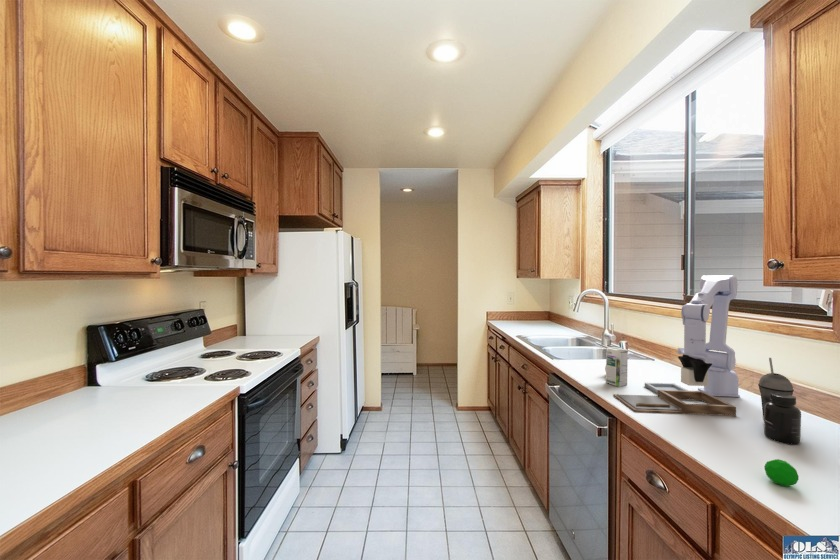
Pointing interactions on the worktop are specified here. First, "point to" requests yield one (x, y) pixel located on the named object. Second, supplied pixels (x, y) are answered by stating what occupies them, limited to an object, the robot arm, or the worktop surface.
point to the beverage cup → (773, 386)
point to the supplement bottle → (782, 419)
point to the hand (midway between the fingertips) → (694, 379)
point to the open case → (677, 403)
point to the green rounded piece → (781, 472)
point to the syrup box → (616, 366)
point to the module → (692, 377)
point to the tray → (663, 387)
